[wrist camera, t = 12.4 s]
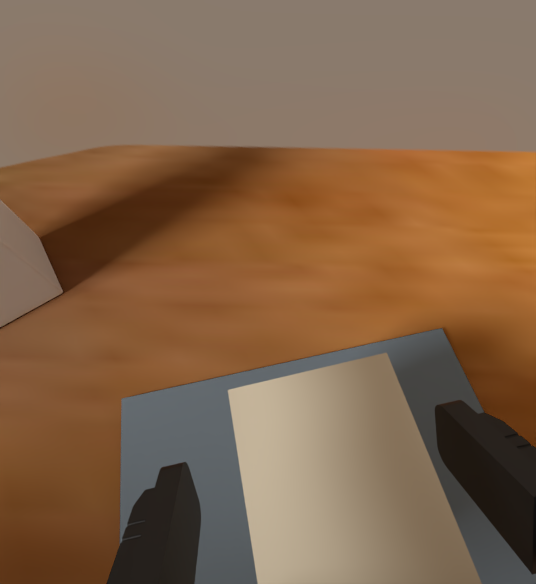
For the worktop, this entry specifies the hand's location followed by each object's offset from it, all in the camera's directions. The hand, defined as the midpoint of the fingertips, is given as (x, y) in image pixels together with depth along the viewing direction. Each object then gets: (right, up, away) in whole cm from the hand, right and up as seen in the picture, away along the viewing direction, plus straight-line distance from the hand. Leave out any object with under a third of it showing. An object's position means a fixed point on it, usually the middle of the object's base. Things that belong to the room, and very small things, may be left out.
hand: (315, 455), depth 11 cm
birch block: (+1, -4, +5) cm, 6 cm away
